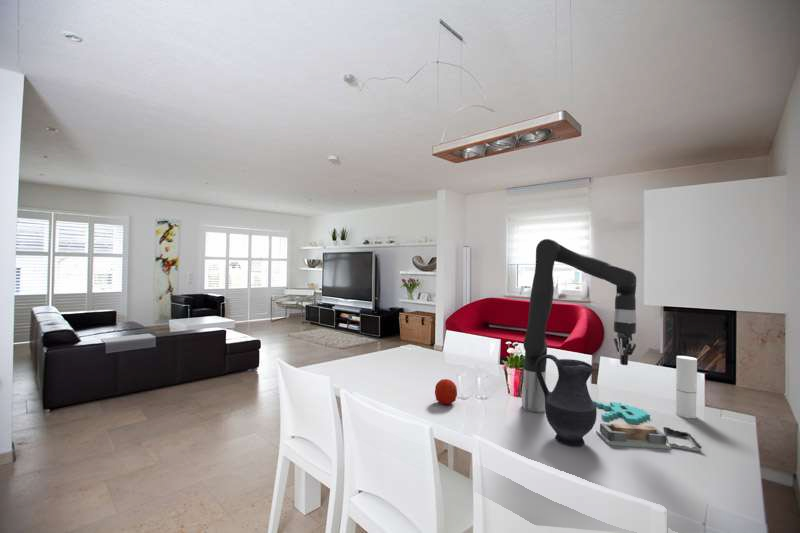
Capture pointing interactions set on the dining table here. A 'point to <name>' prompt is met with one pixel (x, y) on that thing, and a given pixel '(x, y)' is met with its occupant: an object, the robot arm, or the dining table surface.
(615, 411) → the alien figure
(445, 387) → the apple
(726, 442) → the dining table surface
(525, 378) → the robot arm
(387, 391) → the dining table surface
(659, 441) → the end caps
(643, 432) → the slat
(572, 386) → the pitcher
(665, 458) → the dining table surface
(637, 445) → the cradle board
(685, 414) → the cylindrical container
